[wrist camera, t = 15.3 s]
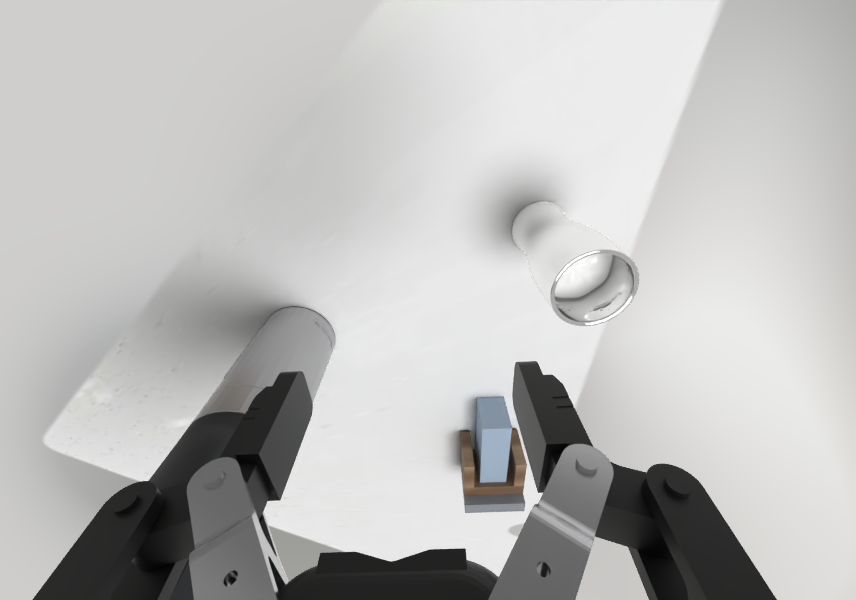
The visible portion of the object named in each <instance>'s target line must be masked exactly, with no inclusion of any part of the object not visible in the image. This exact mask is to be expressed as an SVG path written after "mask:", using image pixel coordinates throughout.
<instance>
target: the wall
mask: <svg viewBox="0 0 856 600" xmlns="http://www.w3.org/2000/svg"><path fill="white" fill-rule="evenodd" d="M461 472H462V466H461ZM462 483H463V476H462ZM463 494H464V487H463ZM464 505H465V513H476V512H507V511H524V508H525V501H524V496H523V494H497V495H468V496H464Z"/></svg>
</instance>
